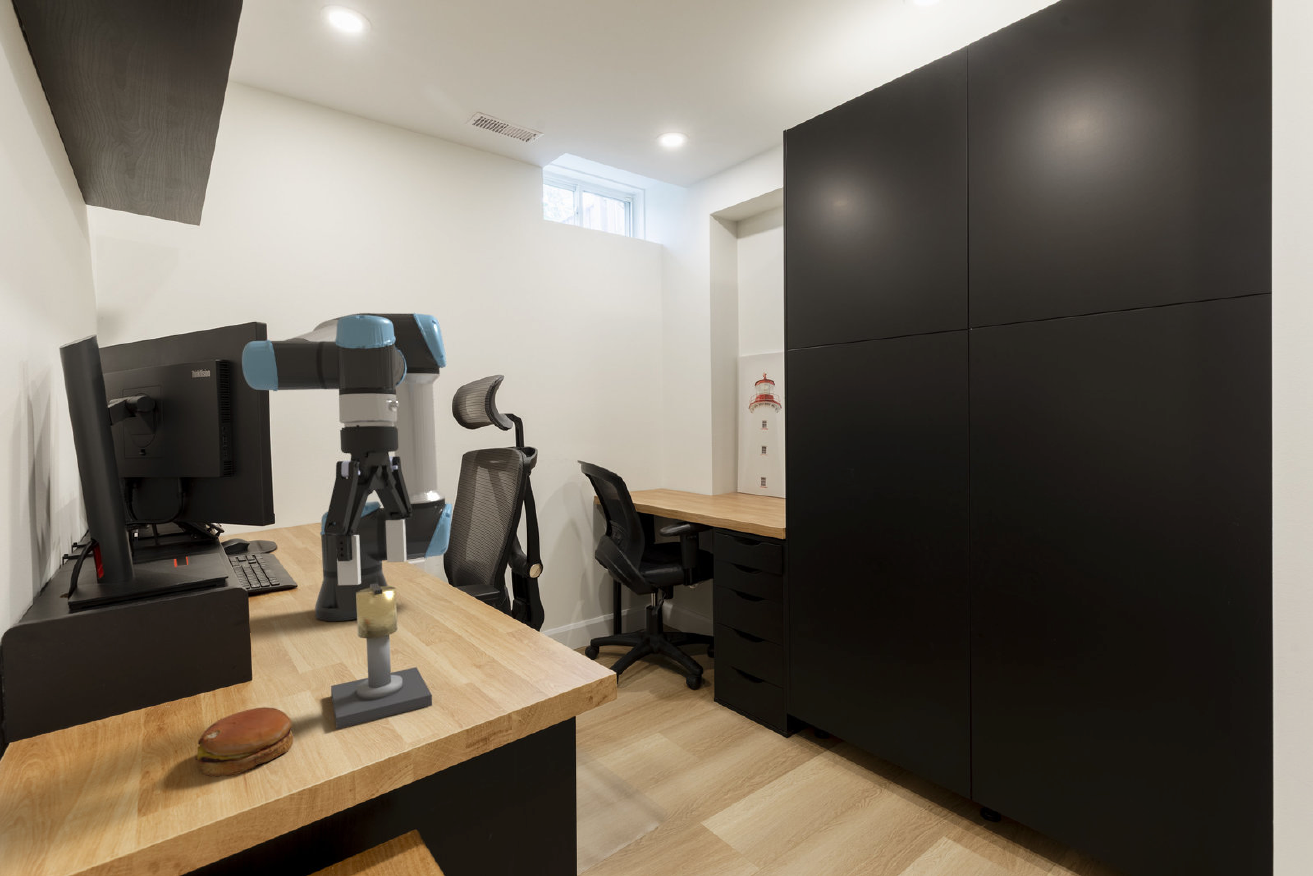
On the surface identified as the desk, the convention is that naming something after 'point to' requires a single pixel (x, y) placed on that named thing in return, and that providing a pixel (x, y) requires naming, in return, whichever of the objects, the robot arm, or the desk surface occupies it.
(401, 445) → the robot arm
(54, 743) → the desk surface
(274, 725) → the burger
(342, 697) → the post block
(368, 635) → the cap
